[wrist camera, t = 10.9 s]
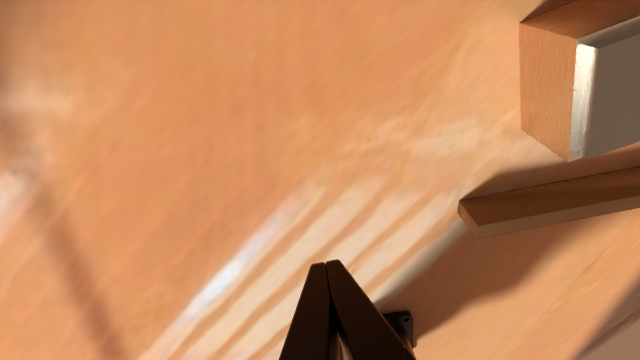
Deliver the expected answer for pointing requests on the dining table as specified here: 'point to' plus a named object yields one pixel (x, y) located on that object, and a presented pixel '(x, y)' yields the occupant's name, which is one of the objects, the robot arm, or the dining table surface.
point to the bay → (552, 203)
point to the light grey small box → (582, 77)
